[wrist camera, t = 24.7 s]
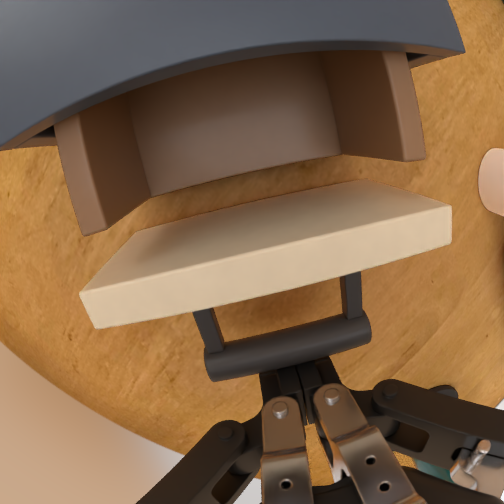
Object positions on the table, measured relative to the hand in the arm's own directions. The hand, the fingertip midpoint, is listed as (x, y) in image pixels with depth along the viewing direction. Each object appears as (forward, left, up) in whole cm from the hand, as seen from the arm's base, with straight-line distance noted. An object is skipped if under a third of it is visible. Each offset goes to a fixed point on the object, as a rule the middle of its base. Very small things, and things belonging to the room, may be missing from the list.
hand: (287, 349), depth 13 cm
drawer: (0, +10, -2) cm, 10 cm away
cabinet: (0, +18, -2) cm, 18 cm away
